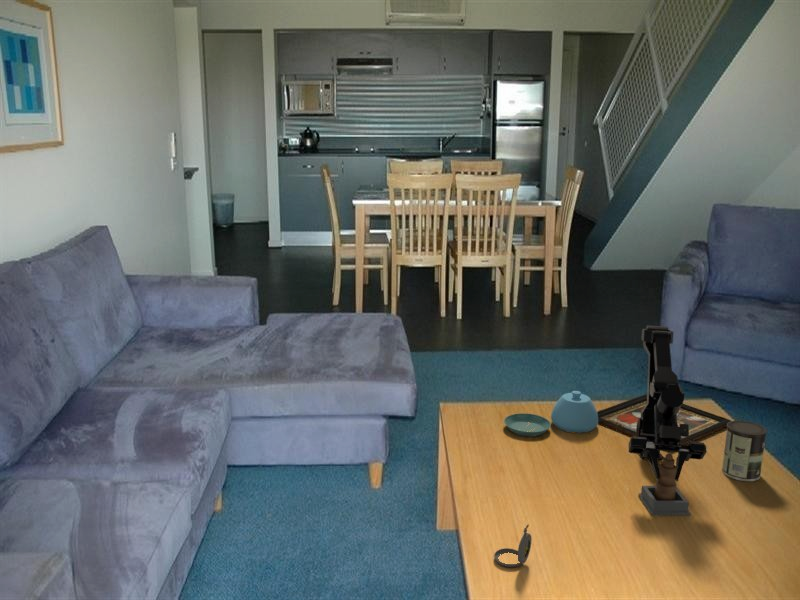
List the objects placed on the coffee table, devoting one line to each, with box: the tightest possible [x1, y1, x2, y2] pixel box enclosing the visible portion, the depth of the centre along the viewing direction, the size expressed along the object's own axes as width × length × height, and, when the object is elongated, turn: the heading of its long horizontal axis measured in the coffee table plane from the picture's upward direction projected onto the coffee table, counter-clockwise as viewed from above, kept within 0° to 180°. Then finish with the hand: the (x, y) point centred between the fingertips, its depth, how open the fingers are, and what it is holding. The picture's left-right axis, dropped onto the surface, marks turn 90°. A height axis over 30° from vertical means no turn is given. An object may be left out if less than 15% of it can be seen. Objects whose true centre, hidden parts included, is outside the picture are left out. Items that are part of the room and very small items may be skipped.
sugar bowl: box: [550, 390, 599, 434], centre depth 250 cm, size 15×15×12 cm
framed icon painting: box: [597, 393, 732, 453], centre depth 254 cm, size 38×35×3 cm
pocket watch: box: [493, 524, 532, 568], centre depth 174 cm, size 8×8×10 cm
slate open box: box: [637, 485, 692, 517], centre depth 201 cm, size 10×10×3 cm
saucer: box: [503, 412, 552, 437], centre depth 247 cm, size 15×15×3 cm
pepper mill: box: [654, 453, 677, 501], centre depth 199 cm, size 5×5×13 cm
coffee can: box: [721, 420, 768, 482], centre depth 218 cm, size 10×10×14 cm
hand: (667, 479), depth 198 cm, fingers closed on pepper mill, 4 cm apart
